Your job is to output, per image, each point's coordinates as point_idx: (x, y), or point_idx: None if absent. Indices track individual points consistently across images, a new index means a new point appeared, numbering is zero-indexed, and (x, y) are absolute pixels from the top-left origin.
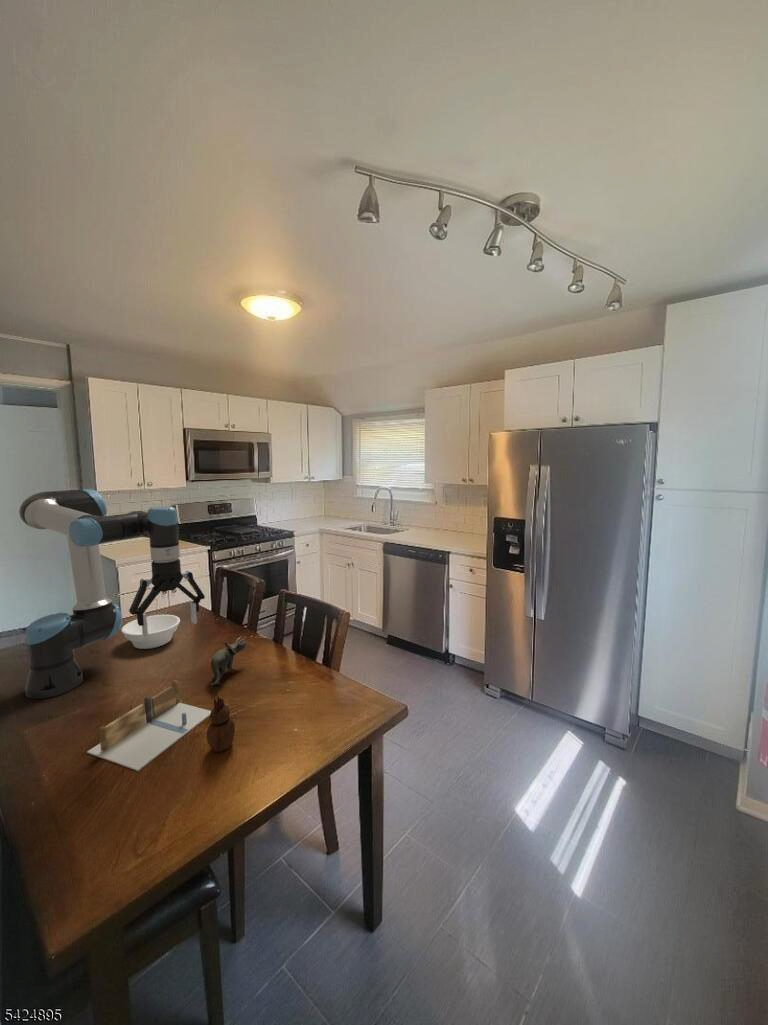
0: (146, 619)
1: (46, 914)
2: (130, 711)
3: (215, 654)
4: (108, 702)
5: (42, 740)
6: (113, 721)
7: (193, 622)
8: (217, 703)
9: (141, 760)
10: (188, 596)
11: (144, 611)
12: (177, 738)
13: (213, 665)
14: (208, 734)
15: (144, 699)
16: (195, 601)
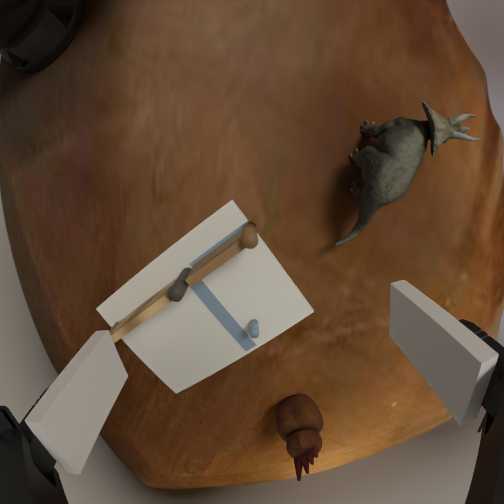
0: (90, 448)
1: (134, 472)
2: (143, 314)
3: (390, 166)
4: (111, 134)
5: (32, 224)
6: (117, 332)
7: (392, 325)
8: (303, 464)
9: (179, 379)
10: (495, 438)
11: (61, 490)
12: (235, 358)
13: (369, 200)
14: (278, 432)
15: (169, 297)
16: (485, 424)
